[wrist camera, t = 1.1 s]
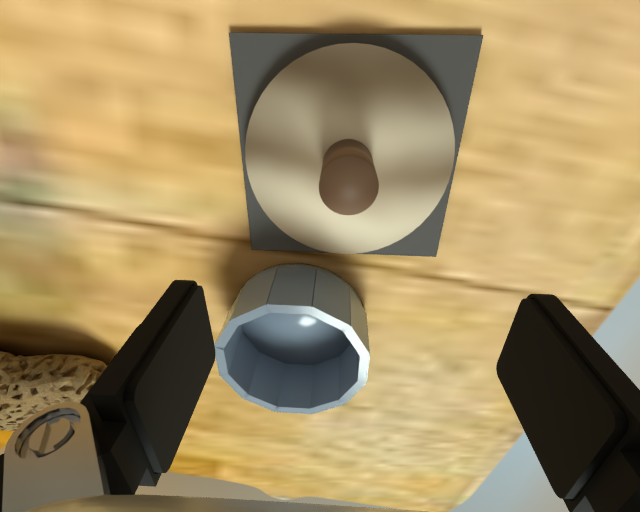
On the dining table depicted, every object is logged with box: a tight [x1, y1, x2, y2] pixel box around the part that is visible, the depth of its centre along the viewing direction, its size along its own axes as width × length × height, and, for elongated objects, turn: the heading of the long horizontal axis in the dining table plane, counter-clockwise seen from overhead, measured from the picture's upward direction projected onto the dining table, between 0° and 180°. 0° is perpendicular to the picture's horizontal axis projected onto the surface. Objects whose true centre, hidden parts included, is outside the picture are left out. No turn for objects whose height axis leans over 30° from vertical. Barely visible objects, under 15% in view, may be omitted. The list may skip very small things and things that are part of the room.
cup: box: [214, 264, 370, 414], centre depth 32 cm, size 13×13×6 cm
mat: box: [229, 33, 483, 257], centre depth 26 cm, size 16×16×1 cm
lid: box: [245, 43, 455, 254], centre depth 23 cm, size 15×15×6 cm
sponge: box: [0, 351, 107, 431], centre depth 38 cm, size 13×8×20 cm
